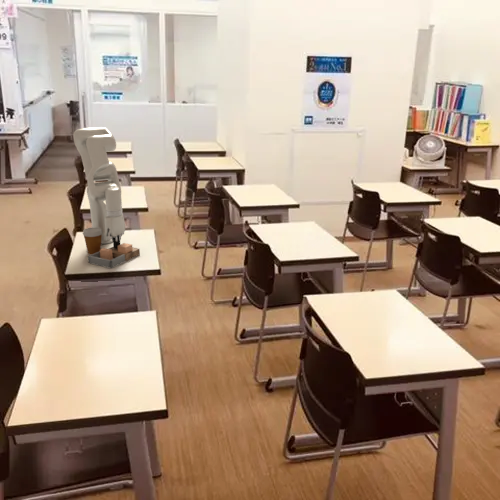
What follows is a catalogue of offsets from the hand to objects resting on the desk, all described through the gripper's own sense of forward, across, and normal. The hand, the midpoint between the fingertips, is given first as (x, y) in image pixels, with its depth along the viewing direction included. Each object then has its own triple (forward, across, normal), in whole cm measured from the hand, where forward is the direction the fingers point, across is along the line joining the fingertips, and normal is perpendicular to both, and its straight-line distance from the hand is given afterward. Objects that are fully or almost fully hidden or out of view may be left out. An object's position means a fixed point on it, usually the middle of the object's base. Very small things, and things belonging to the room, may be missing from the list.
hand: (117, 247), depth 270 cm
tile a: (0, +7, +1) cm, 7 cm away
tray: (+3, +11, +3) cm, 11 cm away
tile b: (0, +1, +6) cm, 6 cm away
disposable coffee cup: (+4, +4, -12) cm, 13 cm away
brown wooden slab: (+3, 0, +3) cm, 5 cm away
